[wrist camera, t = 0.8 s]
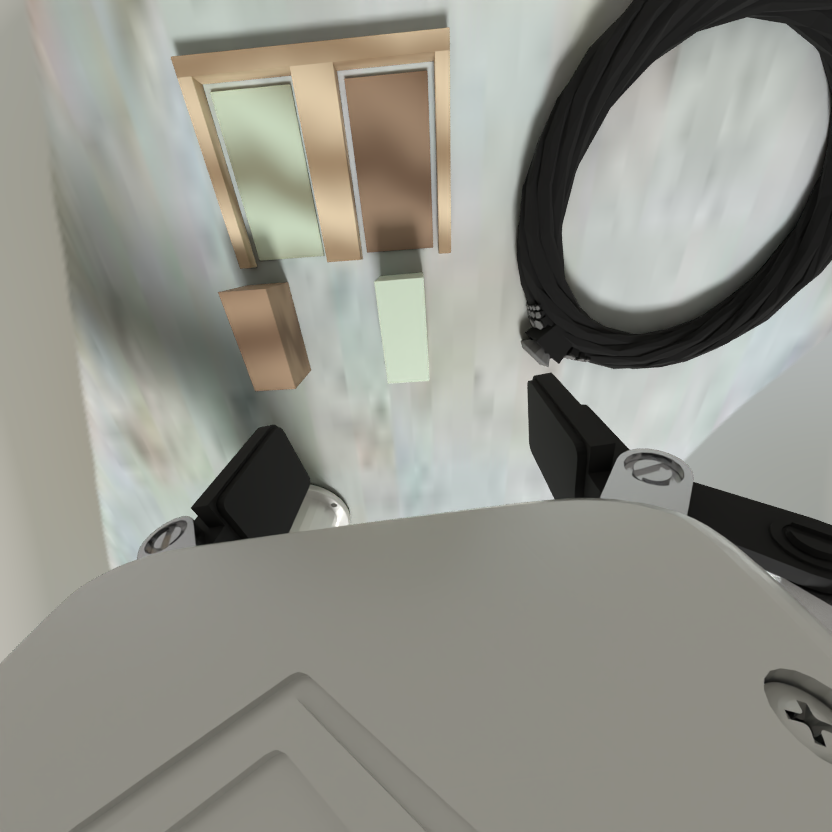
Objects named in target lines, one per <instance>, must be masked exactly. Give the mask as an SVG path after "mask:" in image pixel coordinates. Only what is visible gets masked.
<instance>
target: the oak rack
mask: <svg viewBox="0 0 832 832" xmlns="http://www.w3.org/2000/svg"><path fill="white" fill-rule="evenodd" d="M171 60H172V63H173V66H174V69H175V72H176V75H177V78H178V81H179V84H180V87H181V90H182V93H183V96H184V99H185V102H186V105H187V108H188V111H189V115H190V118H191V121H192V124H193V127H194V130H195V133H196V136H197V139H198V142H199V145H200V148H201V151H202V154H203V157H204V160H205V163H206V166H207V169H208V172H209V175H210V178H211V181H212V184H213V187H214V191H215V194H216V197H217V200H218V203H219V206H220V209H221V212H222V215H223V218H224V221H225V224H226V227H227V230H228V233H229V236H230V239H231V242H232V245H233V248H234V251H235V254H236V257H237V260H238V263H239V267H240V269H243V268H254V267H257V264H256V261H255V258H254V254H253V251H252V248H251V245H250V241H249V238H248V235H247V231H246V228H245V225H244V221H243V218H242V215H241V211H240V208H239V205H238V202H237V198H236V195H235V192H234V188H233V185H232V182H231V178H230V175H229V172H228V168H227V165H226V162H225V158H224V155H223V152H222V149H221V145H220V142H219V139H218V135H217V132H216V129H215V125H214V122H213V119H212V115H211V112H210V109H209V105H208V102H207V99H206V96H205V92H204V89H203V86H202V84H211V83H221V82H231V81H241V80H251V79H261V78H271V77H281V76H292V81H293V86H294V91H295V97H296V102H297V107H298V112H299V117H300V122H301V128H302V133H303V138H304V143H305V148H306V154H307V159H308V164H309V169H310V174H311V179H312V185H313V190H314V195H315V200H316V205H317V210H318V216H319V221H320V226H321V231H322V236H323V241H324V247H325V252H326V257H327V262H336V261H349V260H361V259H363V256H362V249H361V242H360V234H359V227H358V220H357V213H356V206H355V198H354V191H353V184H352V177H351V170H350V162H349V155H348V148H347V141H346V134H345V126H344V119H343V112H342V105H341V98H340V90H339V83H338V76H337V71H340V70H350V69H360V68H370V67H380V66H390V65H400V64H410V63H420V62H430V61H434V82H435V123H436V164H437V205H438V246H439V254H442V253H451V190H450V28H440V29H430V30H421V31H411V32H401V33H392V34H382V35H373V36H363V37H354V38H344V39H335V40H325V41H316V42H306V43H297V44H287V45H278V46H268V47H259V48H249V49H240V50H230V51H221V52H211V53H202V54H192V55H183V56H173V57H171ZM344 80H345V88H346V95H347V103H348V110H349V118H350V126H351V133H352V141H353V148H354V156H355V164H356V171H357V179H358V187H359V194H360V202H361V209H362V217H363V225H364V232H365V240H366V247H367V252H380V251H393V250H406V249H419V248H433V229H432V198H431V167H430V136H429V106H428V75H427V71H418V72H408V73H398V74H388V75H378V76H367V77H357V78H347V79H344ZM210 94H211V97H212V101H213V104H214V108H215V111H216V114H217V118H218V121H219V125H220V128H221V131H222V135H223V138H224V141H225V145H226V148H227V152H228V155H229V158H230V162H231V165H232V169H233V172H234V175H235V179H236V182H237V185H238V189H239V192H240V196H241V199H242V202H243V206H244V209H245V213H246V216H247V219H248V223H249V226H250V229H251V233H252V236H253V240H254V243H255V246H256V250H257V253H258V257H259V260H260V261H263V260H276V259H289V258H302V257H315V256H324V251H323V246H322V241H321V236H320V231H319V226H318V220H317V215H316V210H315V205H314V200H313V195H312V190H311V185H310V180H309V175H308V169H307V164H306V159H305V154H304V149H303V144H302V139H301V134H300V129H299V124H298V118H297V113H296V108H295V103H294V98H293V93H292V88H291V85H290V84H287V85H277V86H267V87H257V88H247V89H237V90H227V91H217V92H210Z"/></svg>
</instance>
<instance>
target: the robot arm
mask: <svg viewBox="0 0 832 832" xmlns="http://www.w3.org/2000/svg"><path fill="white" fill-rule="evenodd" d="M528 419H529V445H530V449H531V452H532V454H533V456H534V458H535V460H536V462H537V464H538V466H539V468H540V470H541V472H542V474H543V476H544V478H545V480H546V482H547V485H548V487H549V489H550V491H551V493H552V495H553V497H554V499H555V500H544V501H534V502H524V503H514V504H506V505H499V506H491V507H483V508H475V509H467V510H460V511H452V512H444V513H436V514H428V515H421V516H413V517H406V518H398V519H390V520H383V521H375V522H368V523H360V524H353V525H349V523H350V514H349V510H348V508H347V507H346V505H345V504H344V502H343V501H342V500H341V499H340V498H339V497H337V496H336V495H335V494H333V493H332V492H330V491H328V490H326V489H324V488H321V487H318V486H315V485H310V478H309V476H308V474H307V472H306V470H305V469H304V467H303V465H302V463H301V461H300V460H299V458H298V456H297V454H296V452H295V451H294V449H293V447H292V445H291V443H290V442H289V440H288V438H287V436H286V434H285V433H284V431H283V430H282V429H281V428H278V427H277V426H276V425H270V426H265V427H259V428H258V429H257V430H256V431H255V432H254V434H253V435H252V436H251V437H250V438H249V440H248V441H247V442H246V443H245V444H244V445H243V447H242V448H241V449H240V450H239V451H238V453H237V454H236V455H235V456H234V457H233V458H232V460H231V461H230V462H229V463H228V464H227V466H226V467H225V468H224V469H223V470H222V472H221V473H220V474H219V475H218V476H217V477H216V479H215V480H214V481H213V482H212V483H211V485H210V486H209V487H208V488H207V489H206V490H205V492H204V493H203V494H202V495H201V496H200V498H199V499H198V500H197V501H196V502H195V503H194V505H193V506H192V507H191V509H192V510H193V511H194V512H195V513H196V514H197V515H198V517H197V518H196V519H195V520H193V519H192V518H191V517H189V516H182V517H179V518H176V519H173V520H171V521H169V522H167V523H165V524H164V525H162V526H161V527H159V528H158V529H156V530H155V531H154V532H153V533H151V534H150V535H149V536H148V537H147V538H146V540H145V541H144V542H143V543H142V545H141V546H140V548H139V551H138V556H137V560H135V561H132V562H129V563H126V564H124V565H121V566H119V567H117V568H115V569H112V570H110V571H108V572H106V573H104V574H102V575H100V576H98V577H96V578H95V579H93V580H91V581H89V582H87V583H86V584H84V585H83V586H81V587H80V588H78V589H77V590H76V591H74V592H73V593H72V594H71V595H70V596H69V597H67V598H66V599H65V600H64V601H63V602H62V603H61V604H60V605H59V606H58V607H57V608H56V609H55V610H54V611H52V612H51V614H49V615H48V616H47V617H46V618H45V619H44V620H43V621H42V622H41V623H40V624H39V625H38V626H37V627H36V628H35V629H34V630H33V631H32V632H31V633H30V634H29V635H28V636H27V637H26V638H25V639H24V640H23V641H22V642H21V643H20V644H19V645H18V646H17V647H16V648H15V649H14V650H13V651H12V652H11V653H10V654H9V655H8V656H7V657H6V658H5V659H4V660H3V661H2V662H1V663H0V832H832V525H830V524H827V523H824V522H821V521H819V520H816V519H813V518H810V517H807V516H804V515H800V514H797V513H794V512H790V511H787V510H784V509H781V508H777V507H774V506H771V505H767V504H764V503H761V502H758V501H754V500H751V499H748V498H744V497H741V496H738V495H735V494H731V493H728V492H725V491H722V490H718V489H715V488H712V487H708V486H705V485H701V484H699V483H695V482H693V480H694V477H693V472H692V470H691V468H690V467H689V466H688V465H687V464H686V463H685V462H684V461H682V460H681V459H680V458H677V457H675V456H673V455H671V454H669V453H666V452H662V451H659V450H653V449H633V450H629V449H628V448H627V447H626V446H625V445H624V443H623V442H622V441H621V440H620V439H619V438H618V437H617V436H616V435H615V434H614V433H613V432H612V431H611V430H610V429H609V428H608V427H607V426H606V424H605V423H604V422H603V421H602V420H601V419H600V418H599V417H598V416H597V415H596V414H595V413H594V412H593V411H592V410H591V409H590V408H589V407H588V406H587V405H581V404H580V403H579V402H578V401H577V400H576V399H575V398H574V397H573V395H572V394H571V393H570V392H569V391H568V390H567V389H566V388H565V387H564V386H563V385H562V383H561V382H560V381H559V380H558V379H557V378H556V377H555V376H554V375H553V374H552V373H546V374H541V375H536V376H534V377H533V380H531V381H528Z"/></svg>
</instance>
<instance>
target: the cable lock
mask: <svg viewBox="0 0 832 832" xmlns="http://www.w3.org/2000/svg"><path fill="white" fill-rule="evenodd" d="M745 17H750V18H756V19H762V20H768V21H774V22H780V23H786V24H787V25H789V26H790V27H791V28H792V29H793V30H795V31H796V32H797V33H798V34H800V35H801V36H802V37H803V38H805V39H806V40H807V41H808V42H810V43H811V44H812V45H813V46H815V48H816V49H817V50H818V51H819V53H820V56H821V59H822V62H823V66H824V69H825V72H826V75H827V78H828V82H829V85H830V88H831V93H832V0H633V2H632V3H631V4H630V5H629V7H628V8H627V9H626V11H625V12H624V13H623V14H622V15H621V16H620V17H619V18H618V19H617V20H616V21H615V22H614V23H613V24H612V25H611V26H610V27H609V28H608V29H607V31H606V32H605V33H604V34H603V35H602V36H601V37H600V38H599V39H598V40H597V41H596V42H595V43H594V44H593V45H592V46H591V47H590V48H589V49H588V51H587V53H586V54H585V56H584V58H583V60H582V61H581V63H580V65H579V66H578V68H577V70H576V71H575V73H574V75H573V77H572V78H571V80H570V82H569V83H568V85H567V86H566V87H565V89H564V90H563V91H562V93H561V94H560V96H559V97H558V99H557V101H556V103H555V105H554V108H553V110H552V112H551V114H550V117H549V119H548V121H547V123H546V126H545V128H544V130H543V132H542V134H541V137H540V139H539V141H538V143H537V147H536V151H535V154H534V157H533V160H532V162H531V165H530V168H529V171H528V174H527V177H526V180H525V182H524V185H523V190H522V201H521V211H520V221H519V225H518V239H517V261H518V268H519V274H520V281H521V286H522V288H523V290H524V293H525V295H526V298H527V300H528V301H527V303H526V306H527V311H528V314H529V316H528V317H529V319H530V322H531V325H532V326H533V327H532V328H530V329H529V330H528V331H526V332H525V333H526V334H527V335H528V336H529V337H530V339H529V340H522V341H521V344H522V348H523V349H524V350H525V351H527V352H528V353H529V354H530V355H531V356H532V357H533V358H534V359H535V360H536V361H537V362H538V363H539V364H540V365H543V366H547V367H548V366H549V359H550V358H552V359H554V360H555V361H556V362H557V363H560V362H561V360H562V359H563V358H567V359H568V358H569V359H571V360H573V359H574V360H578V361H582V362H587V361H588V362H590V363H594V364H597V365H601V366H605V367H609V368H613V369H621V368H631V369H638V368H654V367H663V366H668V365H672V364H676V363H681V362H685V361H688V360H690V359H693V358H695V357H698V356H700V355H702V354H705V353H707V352H710V351H712V350H714V349H716V348H718V347H721V346H723V345H725V344H727V343H729V342H730V341H732V340H733V339H736V338H737V337H739V336H741V335H743V334H744V333H746V332H748V331H749V330H751V329H753V328H755V327H756V326H758V325H760V324H761V323H763V322H765V321H767V320H768V319H769V318H770V317H771V316H772V315H774V314H775V313H776V312H777V311H778V310H779V309H780V308H781V307H782V306H783V305H784V304H786V303H787V302H788V301H789V300H790V299H791V298H792V297H793V296H794V295H795V294H796V293H797V292H799V291H800V290H801V289H802V288H803V287H804V286H806V285H807V284H808V283H809V282H811V281H812V280H813V279H814V278H815V277H817V276H818V275H819V274H820V273H821V272H822V271H823V270H824V269H825V268H826V266H827V265H828V264H829V263H830V262H831V260H832V109H831V119H830V129H829V140H828V147H827V152H826V157H825V162H824V167H823V170H822V172H821V175H820V177H819V178H818V180H817V182H816V184H815V186H814V189H813V191H812V193H811V195H810V197H809V200H808V202H807V204H806V206H805V208H804V210H803V213H802V215H801V217H800V219H799V221H798V223H797V225H796V227H795V229H794V230H793V231H792V232H791V233H790V234H789V235H788V237H787V238H786V239H785V240H784V241H783V243H782V244H781V245H780V246H779V247H778V249H777V250H776V251H775V252H774V254H773V255H772V256H771V257H770V259H769V260H768V261H767V262H766V264H765V265H764V266H763V267H762V269H761V270H760V271H759V272H758V273H757V274H756V275H755V276H754V277H753V278H752V279H751V280H750V281H748V282H747V283H746V284H745V285H743V286H742V287H741V288H740V289H738V290H737V291H736V292H735V293H733V294H732V295H731V296H730V297H728V298H727V299H726V300H725V301H723V302H722V303H720V304H719V305H717V306H716V307H714V308H713V309H711V310H710V311H709V312H707V313H706V314H704V315H703V316H701V317H699V318H697V319H695V320H693V321H690V322H687V323H684V324H681V325H678V326H675V327H672V328H669V329H666V330H661V331H656V332H651V333H646V334H630V333H626V332H623V331H619V330H615V329H611V328H608V327H605V326H603V325H602V324H600V323H598V322H596V321H595V320H593V319H591V318H590V317H589V316H588V315H587V314H586V313H585V312H584V311H583V310H582V309H581V308H580V306H579V304H578V302H577V300H576V299H575V297H574V295H573V293H572V291H571V289H570V287H569V286H568V284H567V282H566V280H565V274H564V259H563V245H562V224H563V220H564V216H565V212H566V208H567V204H568V200H569V197H570V193H571V189H572V185H573V181H574V177H575V173H576V171H577V168H578V166H579V163H580V162H581V160H582V158H583V156H584V154H585V153H586V151H587V149H588V147H589V145H590V144H591V142H592V140H593V138H594V137H595V135H596V133H597V131H598V129H599V128H600V126H601V124H602V122H603V120H604V119H605V117H606V115H607V113H608V111H609V110H610V108H611V107H612V106H613V104H614V103H615V102H616V101H617V100H618V99H619V98H620V96H621V95H622V94H623V93H624V92H625V91H626V90H627V89H628V88H629V87H630V86H631V85H632V84H633V83H634V82H635V80H636V79H637V78H638V77H639V76H640V75H641V74H642V73H643V72H644V71H645V70H646V69H647V68H648V67H649V66H650V65H651V64H652V63H653V62H654V61H655V60H657V59H658V58H660V57H661V56H663V55H664V54H665V53H667V52H668V51H670V50H671V49H673V48H674V47H676V46H677V45H679V44H680V43H682V42H683V41H684V40H686V39H687V38H689V37H690V36H692V35H693V34H695V33H696V32H698V31H701V30H704V29H708V28H711V27H715V26H718V25H722V24H725V23H728V22H732V21H735V20H739V19H742V18H745Z"/></svg>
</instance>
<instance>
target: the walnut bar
mask: <svg viewBox="0 0 832 832" xmlns="http://www.w3.org/2000/svg"><path fill="white" fill-rule="evenodd" d="M218 293H219V296H220V299H221V301H222V304H223V307H224V309H225V312H226V315H227V317H228V320H229V323H230V325H231V328H232V331H233V333H234V336H235V338H236V341H237V344H238V346H239V349H240V352H241V354H242V357H243V360H244V362H245V365H246V368H247V370H248V373H249V376H250V378H251V381H252V384H253V386H254V389H255V391H267V390H283V389H296V388H297V386H298V385H299V384H300V383H301V382H302V380H303V379H304V378H305V377H306V376H307V375H308V373H309V372H310V371H311V368H310V364H309V360H308V357H307V353H306V349H305V345H304V341H303V337H302V334H301V330H300V326H299V322H298V318H297V314H296V311H295V307H294V303H293V299H292V295H291V292H290V288H289V284H288V282H286V283H272V284H259V285H247V286H243V287H239V288H234V289H230V290H226V291H222V292H218Z"/></svg>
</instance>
